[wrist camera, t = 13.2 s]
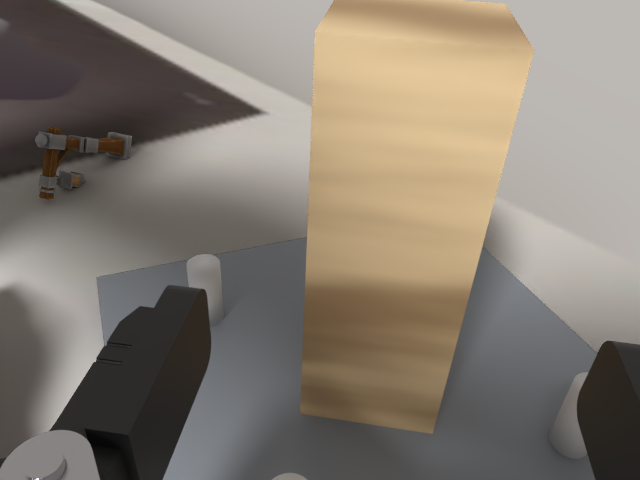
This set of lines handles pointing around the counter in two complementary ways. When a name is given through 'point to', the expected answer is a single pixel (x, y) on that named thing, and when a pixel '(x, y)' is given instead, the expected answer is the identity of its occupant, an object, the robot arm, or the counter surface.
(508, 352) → the peg board
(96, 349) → the counter surface
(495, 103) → the oak post
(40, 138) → the orange grey jointed piece
